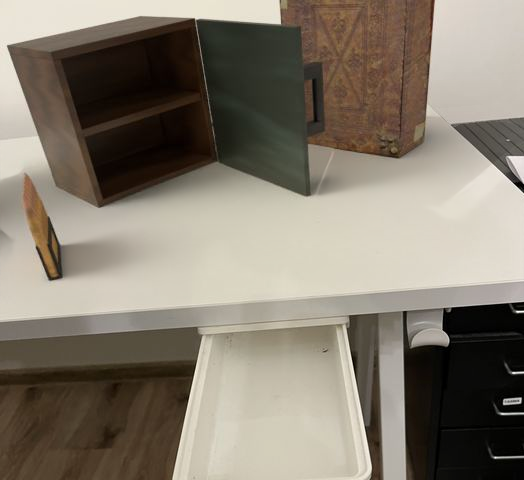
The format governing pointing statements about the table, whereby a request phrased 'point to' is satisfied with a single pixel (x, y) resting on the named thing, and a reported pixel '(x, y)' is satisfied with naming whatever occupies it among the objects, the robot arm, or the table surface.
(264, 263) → the table surface
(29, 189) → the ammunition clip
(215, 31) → the door
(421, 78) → the book
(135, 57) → the cupboard
